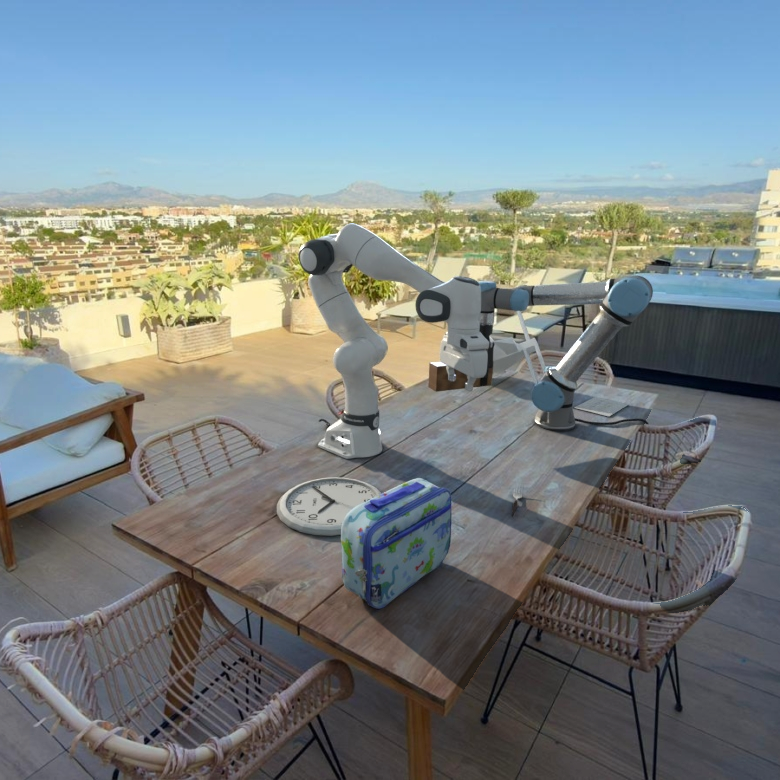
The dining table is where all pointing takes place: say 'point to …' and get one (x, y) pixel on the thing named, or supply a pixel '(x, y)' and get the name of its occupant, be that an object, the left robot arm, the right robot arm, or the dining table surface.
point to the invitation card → (601, 406)
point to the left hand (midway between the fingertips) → (460, 385)
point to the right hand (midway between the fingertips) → (478, 382)
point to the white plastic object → (515, 352)
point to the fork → (517, 496)
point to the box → (441, 382)
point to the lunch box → (395, 540)
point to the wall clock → (323, 504)
